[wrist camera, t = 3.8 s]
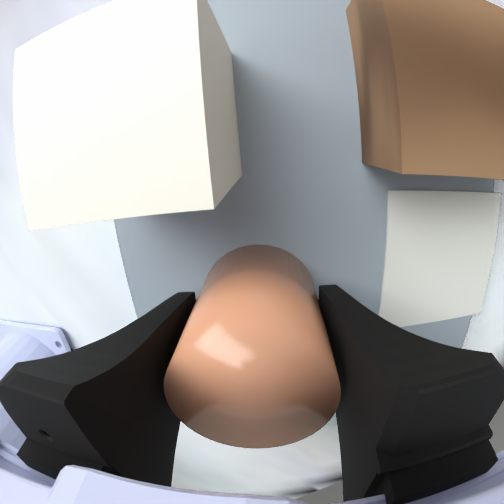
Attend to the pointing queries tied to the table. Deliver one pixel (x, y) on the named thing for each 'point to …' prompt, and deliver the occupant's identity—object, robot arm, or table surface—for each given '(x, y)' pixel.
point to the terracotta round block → (254, 354)
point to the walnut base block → (430, 85)
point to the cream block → (125, 114)
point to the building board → (322, 188)
